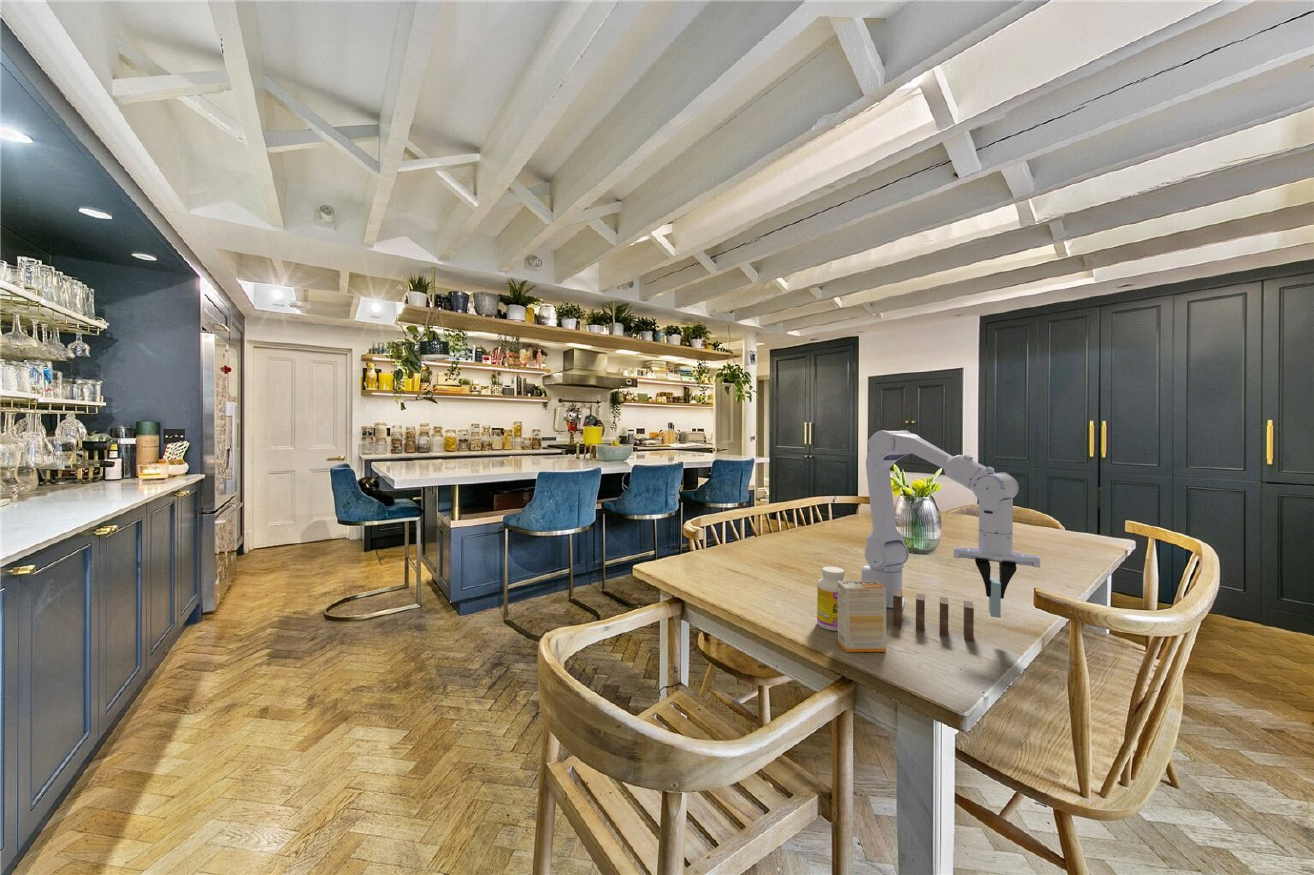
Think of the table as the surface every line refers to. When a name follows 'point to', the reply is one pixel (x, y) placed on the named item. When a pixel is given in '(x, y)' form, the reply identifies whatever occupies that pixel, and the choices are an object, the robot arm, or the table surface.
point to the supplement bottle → (828, 598)
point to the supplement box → (862, 616)
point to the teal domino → (995, 598)
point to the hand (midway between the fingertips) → (994, 596)
